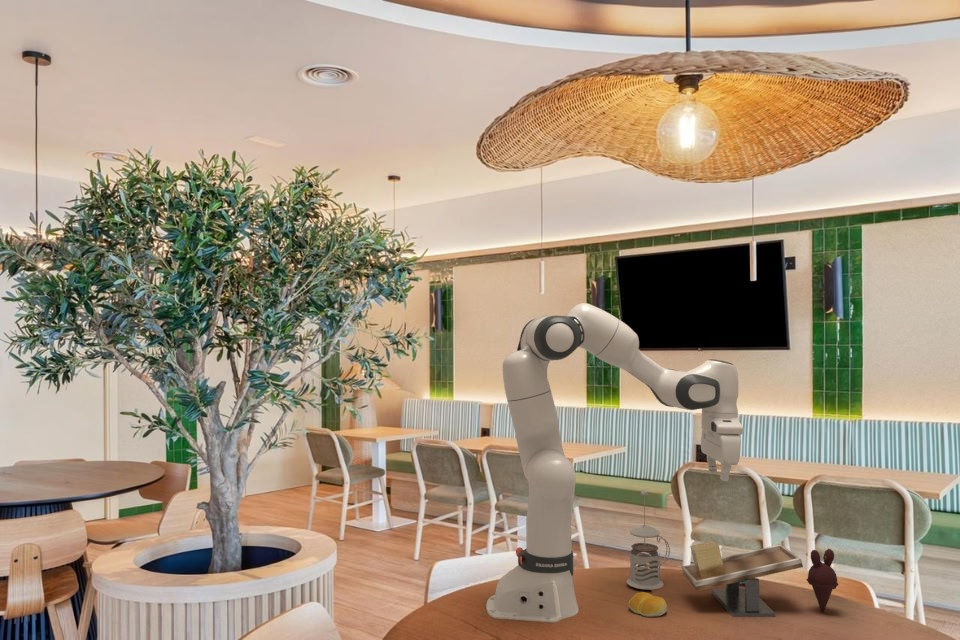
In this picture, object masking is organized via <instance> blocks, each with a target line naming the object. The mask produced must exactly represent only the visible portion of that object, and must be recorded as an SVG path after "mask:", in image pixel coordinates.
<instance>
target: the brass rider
mask: <svg viewBox="0 0 960 640" xmlns="http://www.w3.org/2000/svg"><path fill="white" fill-rule="evenodd" d="M689 547H690V550H691V555H692V559H693V564H694V565H695V569H696V573H697V574H698V576H699V577H700V578H701V579H703V578H708V577H712V576H717V575H721V574H725V570H724V566H723V562H722V553H721V550H720V546H719V544H717V543H716V542H715V541H714V540H710V541H707V542H703V543H702V542H701V543H697V544H693V545H690V546H689Z"/></svg>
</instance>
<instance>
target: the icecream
mask: <svg viewBox="0 0 960 640" xmlns="http://www.w3.org/2000/svg"><path fill="white" fill-rule="evenodd" d="M810 560H811V563H812V565H811V566H810V568H809V570H808V572H807V573H808V574H807V578H806V579H805V580H806V582H807V583H808V585H811V587H812V591H813V592H814V595H815V597H816V600H817V604H818V607H819V609H820V611H821V612H823V613H824V612H825V610H826V607H827V605H828V602H829V599H830V597H831V595H832V592H833V590H835V589H837V587H838V586H839V583H838V576H837V573H836V571H835V570H834V568H833V567H832V564H833V561H834V560H835V553H834V550H832V549H831V548H828V549H825V551H824V553H823V557H822V560H823V562H822V560H821V556H820V553H819V552H818V551H817V550H816V549H812V550H811V552H810Z"/></svg>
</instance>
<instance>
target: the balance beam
mask: <svg viewBox="0 0 960 640" xmlns="http://www.w3.org/2000/svg"><path fill="white" fill-rule="evenodd" d="M721 557H722V556H721ZM722 562H723V566H724V570H725V574H721V575H717V576H712V577H708V578H703V579H701V578H700V577H699V576H698V574H697V573H696V569H695V565H694V563H692V564H688V565H682V566H681V569H682V574H683V576H684V577H685V578H686V579H687V580H688V582H689V583H690V584H691V586H693V588H694V589H695V590H696V591H697V592H698V591H702V590H707V589H713V588H715V587H716V588H717V587H721V586H726V584H730V583H734V582H739V581H743V580H745V578H761V577H765V576H770V575H773V574H778V573H783V572H787V571H792V570H797V569H800V568H804V565H803V561H802V558H800V557H799V556H798V555H796V554H795V553H793V552H792V551H791V550H790V549H788V548H787V547H785V546H783V545H782V544H777V545H776V544H775V545H772V546H767V547H763V548H759V549H753V550H750V551H745V552H741V553H736V554H731V555H727V556H723V557H722ZM739 583H740V582H739Z"/></svg>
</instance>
